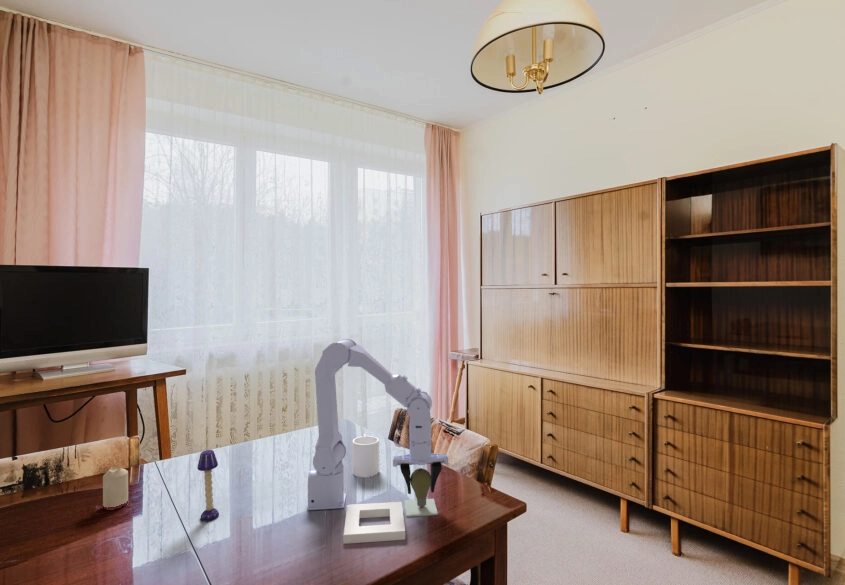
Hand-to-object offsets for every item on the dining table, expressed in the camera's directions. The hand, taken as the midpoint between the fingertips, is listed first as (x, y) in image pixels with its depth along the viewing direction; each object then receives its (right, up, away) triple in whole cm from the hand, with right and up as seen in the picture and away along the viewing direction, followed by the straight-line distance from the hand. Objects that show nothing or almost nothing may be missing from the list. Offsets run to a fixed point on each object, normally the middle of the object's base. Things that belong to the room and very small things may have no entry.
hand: (420, 491), depth 114 cm
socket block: (-11, -4, -8) cm, 15 cm away
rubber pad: (0, -4, 0) cm, 4 cm away
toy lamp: (-54, -5, -4) cm, 54 cm away
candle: (-82, -5, +2) cm, 82 cm away
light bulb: (0, -4, 0) cm, 4 cm away
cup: (-18, -5, +25) cm, 31 cm away
